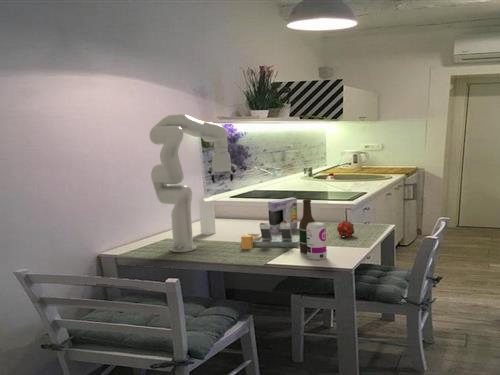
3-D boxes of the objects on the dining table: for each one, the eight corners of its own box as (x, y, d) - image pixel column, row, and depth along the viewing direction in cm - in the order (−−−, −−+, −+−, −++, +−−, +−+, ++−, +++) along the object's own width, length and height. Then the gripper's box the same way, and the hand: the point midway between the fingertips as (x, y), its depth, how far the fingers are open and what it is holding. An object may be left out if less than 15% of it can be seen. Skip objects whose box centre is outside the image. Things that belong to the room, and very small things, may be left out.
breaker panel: (298, 247, 221) (297, 239, 221) (241, 246, 228) (240, 238, 228) (302, 240, 235) (302, 232, 234) (248, 239, 242) (248, 232, 241)
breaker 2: (291, 240, 226) (289, 226, 221) (282, 240, 227) (279, 225, 222) (292, 237, 228) (290, 223, 222) (282, 237, 229) (280, 223, 224)
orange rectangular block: (250, 249, 222) (250, 236, 221) (241, 249, 223) (241, 236, 222) (253, 247, 226) (252, 234, 225) (244, 246, 227) (243, 234, 226)
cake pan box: (273, 234, 252) (272, 202, 250) (267, 233, 256) (265, 201, 254) (298, 228, 264) (297, 197, 262) (292, 227, 268) (291, 197, 266)
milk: (215, 233, 262) (214, 194, 259) (207, 235, 258) (205, 195, 255) (209, 231, 266) (207, 193, 264) (200, 233, 262) (198, 194, 260)
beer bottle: (315, 249, 216) (314, 197, 213) (318, 253, 208) (316, 200, 206) (298, 250, 216) (297, 198, 213) (301, 254, 208) (299, 201, 205)
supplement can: (330, 257, 201) (329, 222, 200) (319, 261, 195) (318, 226, 194) (314, 254, 207) (313, 221, 205) (303, 258, 201) (302, 224, 199)
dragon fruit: (348, 236, 245) (346, 245, 234) (334, 227, 246) (332, 235, 235) (357, 224, 242) (356, 232, 231) (344, 215, 243) (341, 222, 232)
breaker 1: (271, 240, 229) (268, 225, 223) (262, 240, 230) (259, 225, 224) (272, 237, 230) (269, 223, 225) (262, 237, 231) (259, 222, 226)
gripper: (204, 151, 251) (206, 183, 253) (236, 150, 252) (238, 181, 254) (205, 151, 259) (207, 181, 261) (236, 149, 260) (238, 180, 261)
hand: (222, 181), depth 257 cm, fingers open, 9 cm apart
